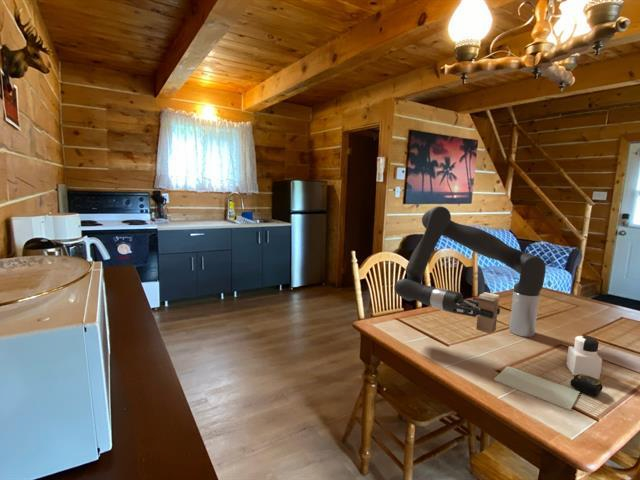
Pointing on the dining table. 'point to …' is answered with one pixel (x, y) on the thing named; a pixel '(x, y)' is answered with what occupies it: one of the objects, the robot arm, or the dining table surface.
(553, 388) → the sage mat
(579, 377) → the tape measure
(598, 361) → the medicine bottle
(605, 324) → the dining table surface
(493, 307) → the walnut block
